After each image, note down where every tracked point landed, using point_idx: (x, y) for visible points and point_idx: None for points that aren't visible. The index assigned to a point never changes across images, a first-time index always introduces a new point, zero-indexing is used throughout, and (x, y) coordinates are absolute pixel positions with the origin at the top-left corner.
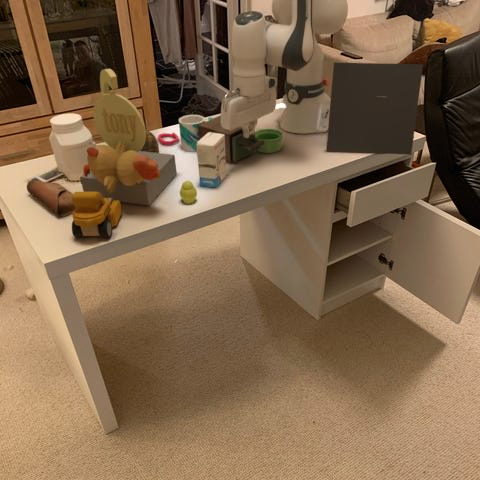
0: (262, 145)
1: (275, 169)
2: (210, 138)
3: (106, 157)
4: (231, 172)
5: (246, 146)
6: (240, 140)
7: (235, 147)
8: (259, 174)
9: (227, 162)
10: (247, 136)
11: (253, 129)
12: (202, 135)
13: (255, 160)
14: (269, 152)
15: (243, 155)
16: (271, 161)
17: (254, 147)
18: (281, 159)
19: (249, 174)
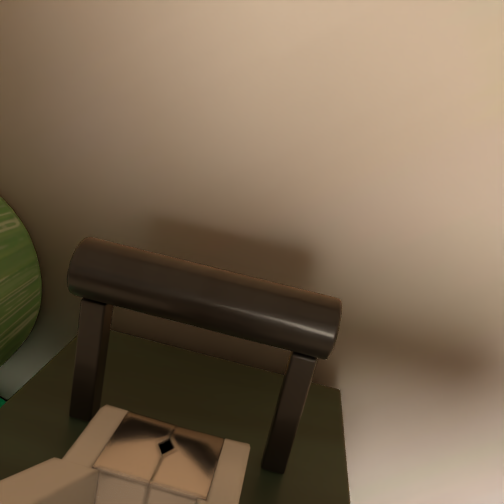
0: (9, 292)
1: (287, 9)
2: None
3: None
4: (491, 352)
5: (301, 386)
6: (255, 500)
7: (346, 484)
8: (449, 109)
9: None
10: (244, 465)
11: (89, 470)
12: None
13: None
14: (16, 215)
15: (236, 373)
16: (149, 127)
17: (279, 290)
18: (68, 58)
19: (480, 196)
